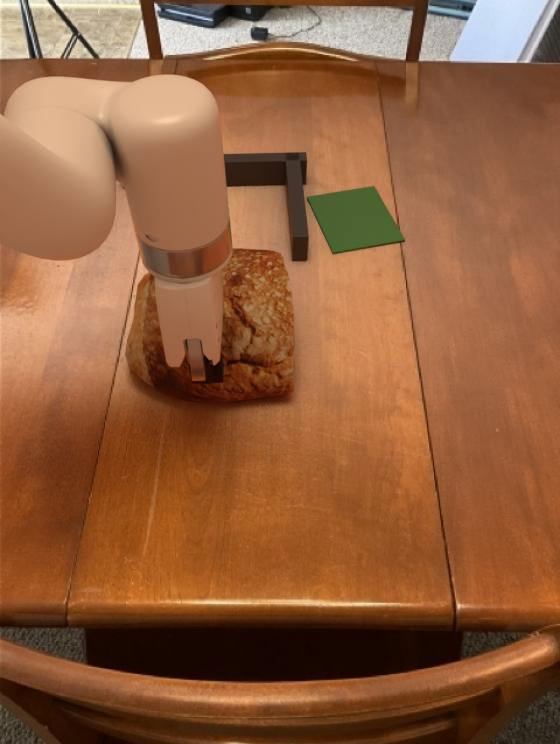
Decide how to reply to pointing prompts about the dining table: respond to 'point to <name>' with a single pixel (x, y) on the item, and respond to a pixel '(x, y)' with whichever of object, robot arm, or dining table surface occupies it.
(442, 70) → the dining table surface
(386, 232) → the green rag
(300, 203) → the corner stop
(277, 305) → the bread
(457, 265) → the dining table surface
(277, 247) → the dining table surface
